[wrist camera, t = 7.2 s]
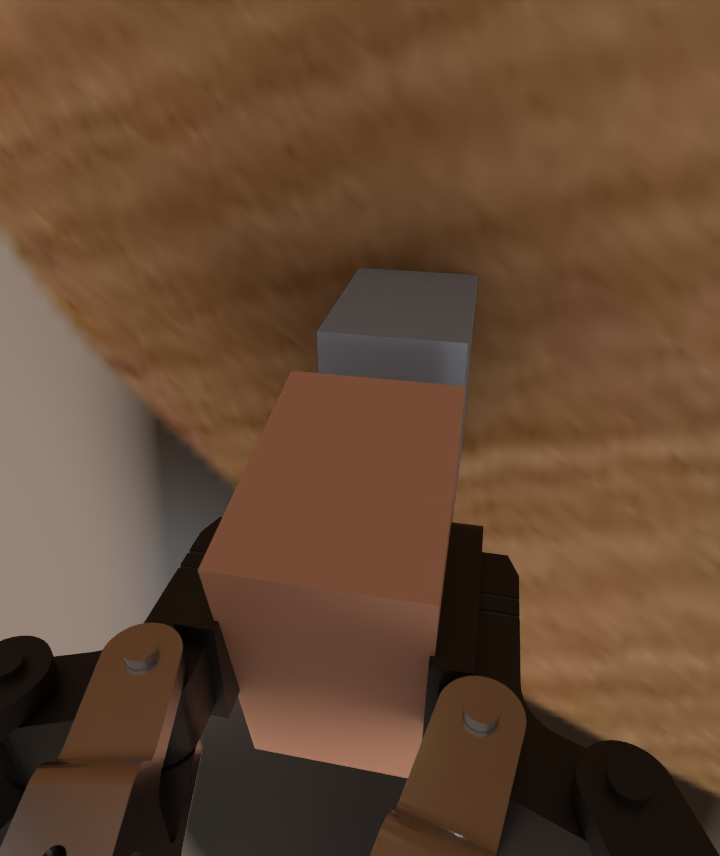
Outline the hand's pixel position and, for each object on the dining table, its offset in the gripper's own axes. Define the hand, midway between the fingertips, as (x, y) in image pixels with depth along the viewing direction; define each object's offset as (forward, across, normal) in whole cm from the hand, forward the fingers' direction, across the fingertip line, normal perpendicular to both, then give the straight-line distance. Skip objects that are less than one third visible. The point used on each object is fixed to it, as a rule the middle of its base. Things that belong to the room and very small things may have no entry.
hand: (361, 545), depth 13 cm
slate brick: (+9, 0, 0) cm, 9 cm away
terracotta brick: (+2, 0, 0) cm, 2 cm away
